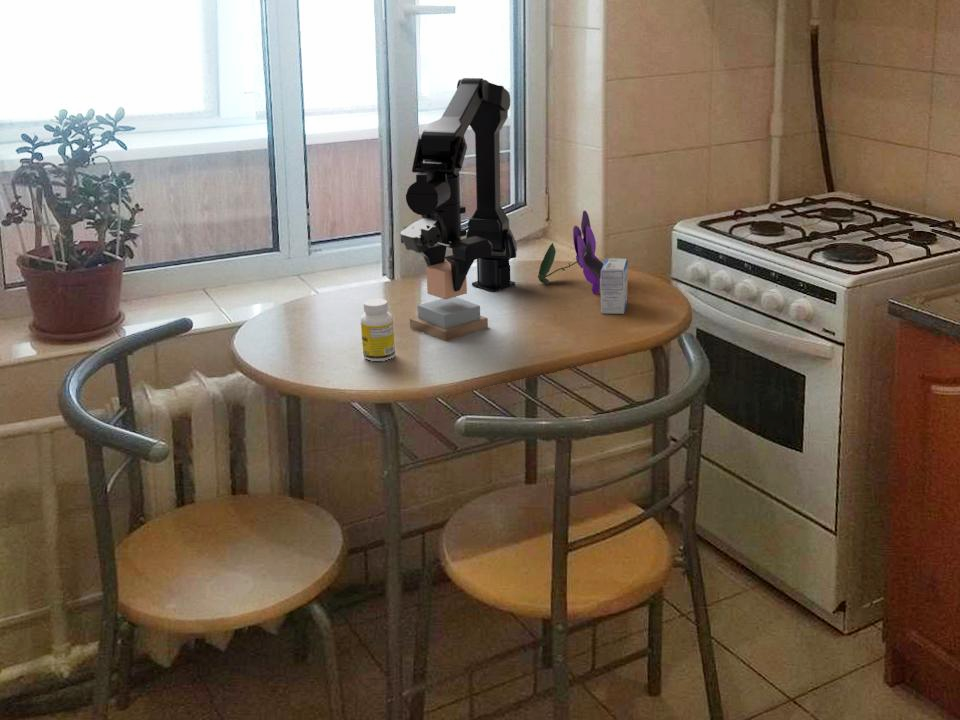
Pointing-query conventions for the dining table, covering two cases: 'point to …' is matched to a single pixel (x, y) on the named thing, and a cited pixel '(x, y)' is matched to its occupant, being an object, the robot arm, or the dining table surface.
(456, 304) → the top block
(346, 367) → the dining table surface
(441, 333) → the bottom block
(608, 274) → the medicine box
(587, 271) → the flower
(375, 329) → the supplement bottle
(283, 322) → the dining table surface
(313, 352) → the dining table surface
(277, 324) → the dining table surface
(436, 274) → the terracotta cube
